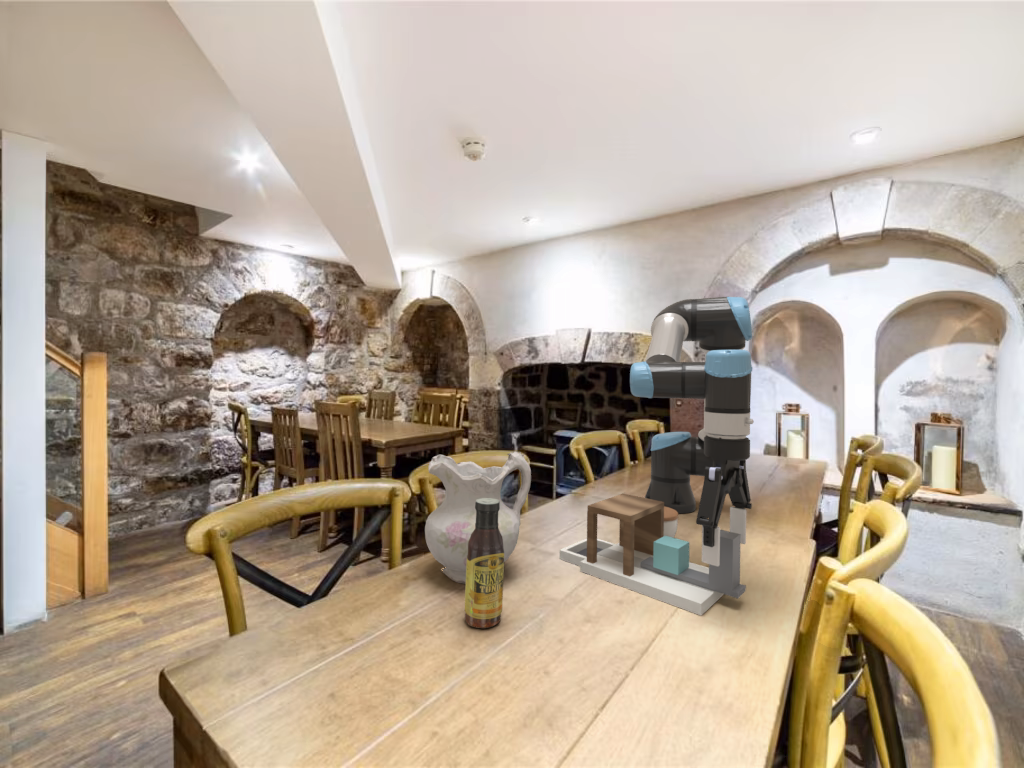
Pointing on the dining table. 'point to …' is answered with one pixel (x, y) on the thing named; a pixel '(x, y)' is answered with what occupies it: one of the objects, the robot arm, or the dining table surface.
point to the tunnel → (628, 526)
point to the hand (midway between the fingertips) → (724, 552)
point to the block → (671, 555)
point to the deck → (641, 576)
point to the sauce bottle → (485, 567)
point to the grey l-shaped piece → (714, 569)
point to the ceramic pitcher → (471, 509)
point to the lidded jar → (670, 521)
